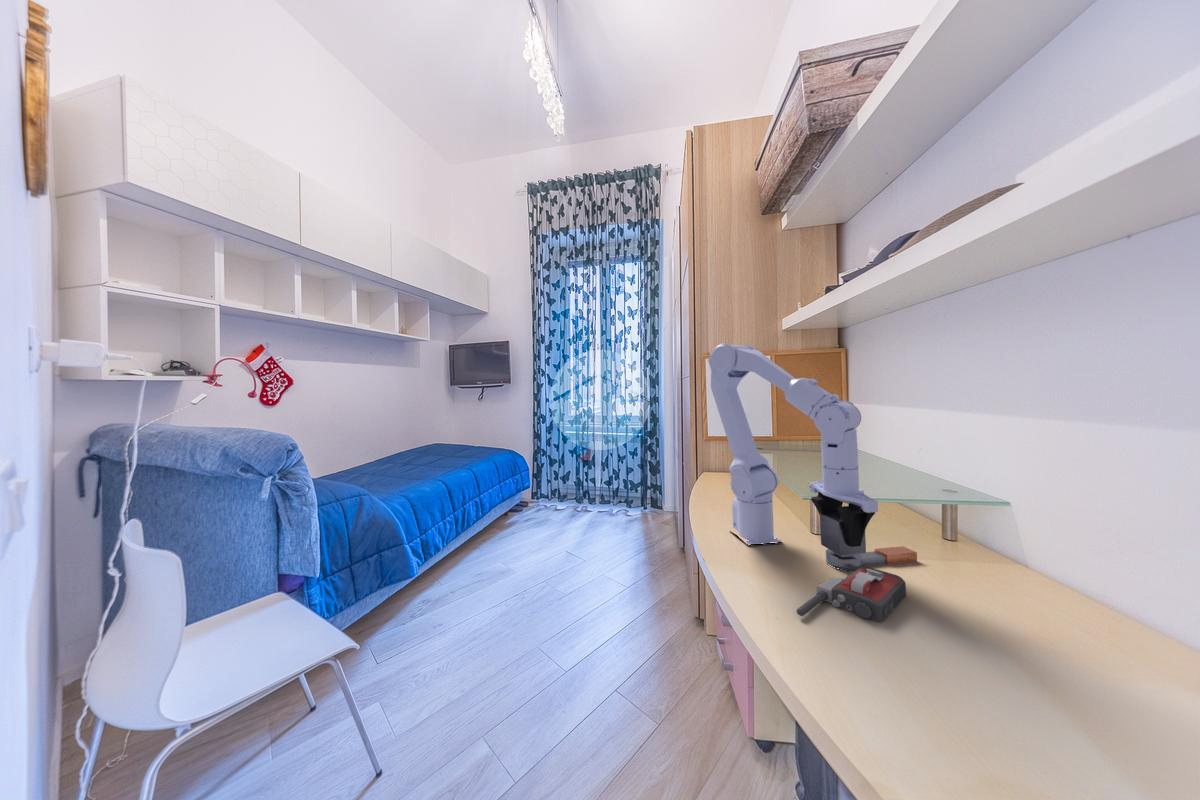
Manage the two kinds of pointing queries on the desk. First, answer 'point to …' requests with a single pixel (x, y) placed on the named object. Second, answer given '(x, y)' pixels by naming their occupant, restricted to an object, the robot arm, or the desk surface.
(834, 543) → the dark grey block
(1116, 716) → the desk surface
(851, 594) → the walkie-talkie
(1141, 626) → the desk surface
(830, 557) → the ratchet
